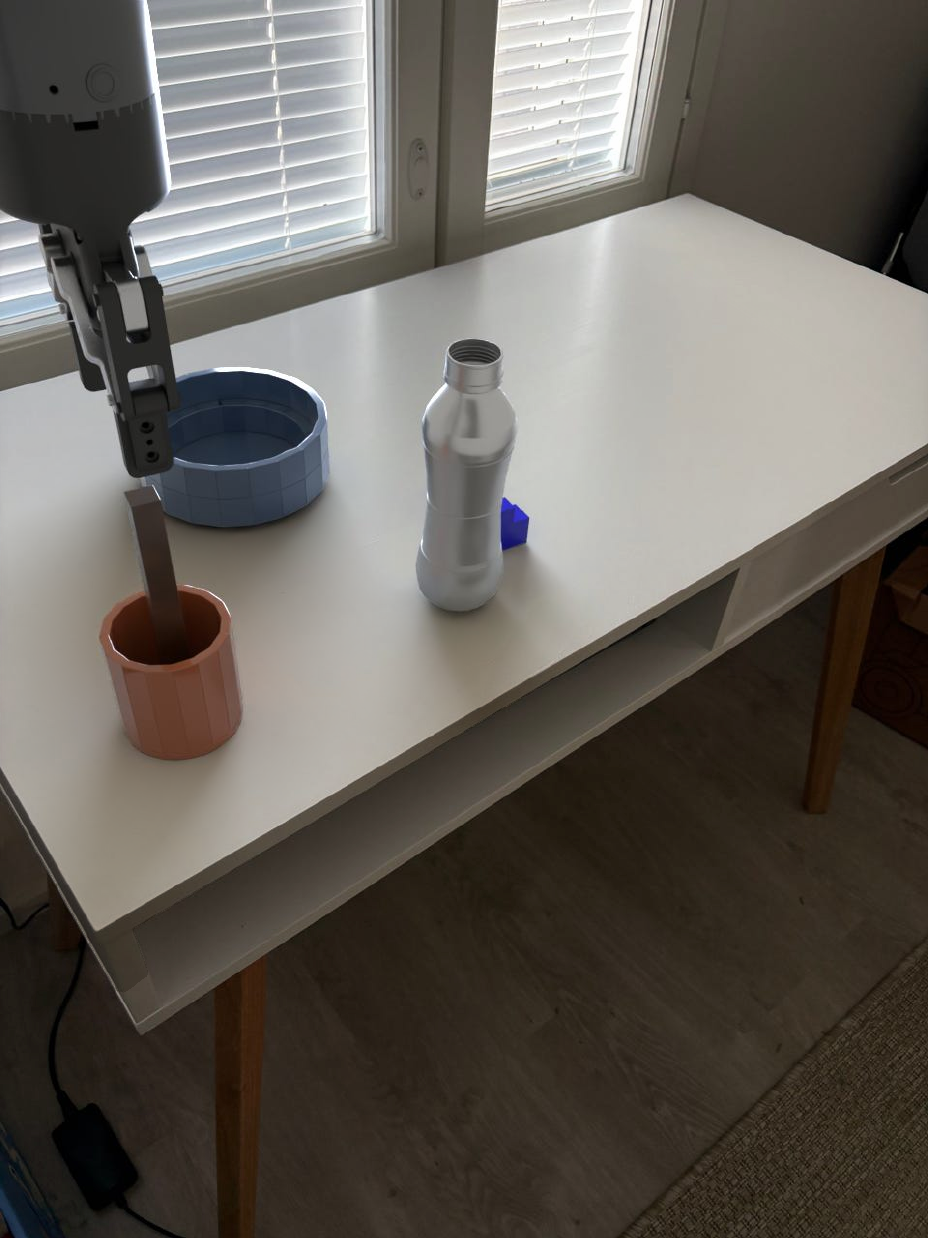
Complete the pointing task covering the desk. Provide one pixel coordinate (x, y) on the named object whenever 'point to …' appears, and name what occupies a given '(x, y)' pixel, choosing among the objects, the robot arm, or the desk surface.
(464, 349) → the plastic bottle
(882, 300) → the desk surface
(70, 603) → the desk surface
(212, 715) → the crock
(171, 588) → the disc-ended square rod
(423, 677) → the desk surface
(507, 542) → the cable holder
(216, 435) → the bowl
